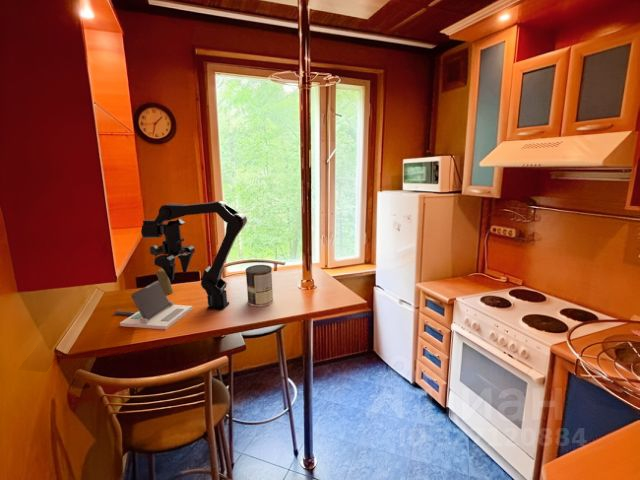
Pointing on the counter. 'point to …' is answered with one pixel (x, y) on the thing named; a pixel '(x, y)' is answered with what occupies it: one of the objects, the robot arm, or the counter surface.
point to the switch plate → (156, 317)
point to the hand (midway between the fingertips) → (178, 276)
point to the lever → (150, 300)
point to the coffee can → (259, 285)
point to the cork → (164, 282)
